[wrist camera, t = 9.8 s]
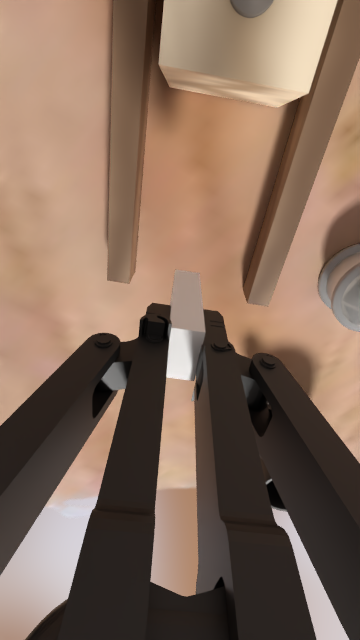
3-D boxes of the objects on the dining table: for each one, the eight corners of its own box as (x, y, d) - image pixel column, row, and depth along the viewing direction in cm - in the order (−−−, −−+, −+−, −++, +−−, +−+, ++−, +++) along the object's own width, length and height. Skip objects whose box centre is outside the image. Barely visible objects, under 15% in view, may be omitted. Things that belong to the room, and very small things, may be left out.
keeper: (169, 87, 21) (156, 61, 14) (185, -62, 17) (178, -187, 11) (277, 107, 21) (312, 91, 15) (315, -34, 17) (385, -140, 11)
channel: (115, 268, 29) (100, 289, 24) (130, -134, 16) (105, -235, 12) (262, 292, 29) (273, 317, 25) (389, -78, 16) (455, -155, 12)
